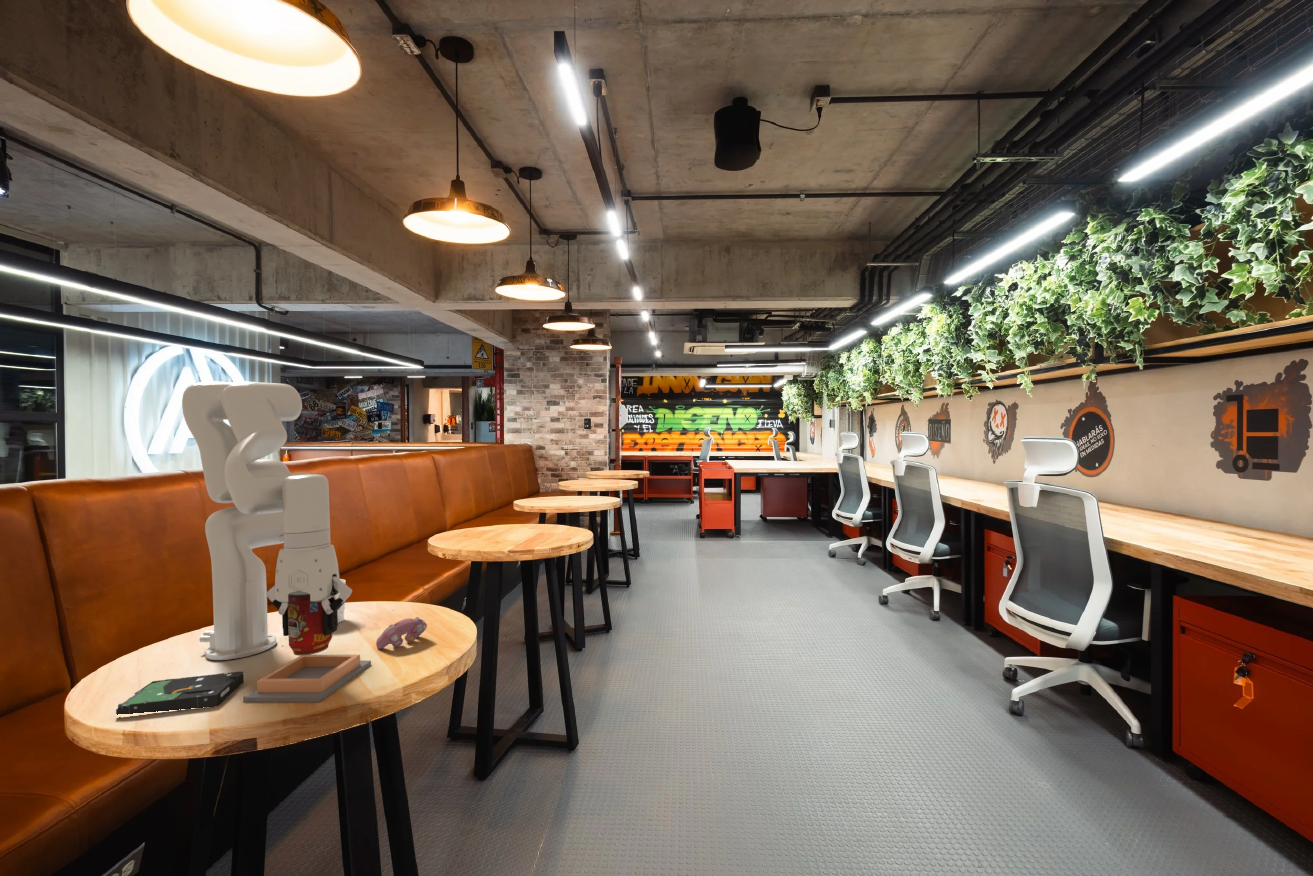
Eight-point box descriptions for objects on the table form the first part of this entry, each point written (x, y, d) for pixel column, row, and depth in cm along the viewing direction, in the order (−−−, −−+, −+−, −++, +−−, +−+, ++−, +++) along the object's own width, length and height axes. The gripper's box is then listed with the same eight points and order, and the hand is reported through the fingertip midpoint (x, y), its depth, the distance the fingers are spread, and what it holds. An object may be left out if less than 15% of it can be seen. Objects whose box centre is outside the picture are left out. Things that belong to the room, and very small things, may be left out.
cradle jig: (243, 701, 99) (242, 686, 99) (304, 664, 115) (304, 651, 115) (319, 702, 98) (319, 686, 98) (370, 664, 114) (370, 650, 114)
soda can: (279, 655, 104) (277, 589, 104) (311, 642, 111) (310, 580, 111) (310, 658, 102) (308, 591, 102) (341, 644, 109) (339, 581, 109)
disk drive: (244, 685, 108) (152, 695, 104) (244, 670, 108) (152, 679, 104) (217, 710, 98) (114, 722, 94) (217, 694, 98) (114, 705, 94)
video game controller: (382, 659, 121) (389, 633, 119) (372, 646, 123) (379, 620, 121) (425, 644, 129) (432, 620, 127) (415, 632, 131) (421, 608, 129)
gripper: (248, 544, 103) (251, 641, 103) (339, 542, 102) (342, 640, 102) (277, 537, 111) (280, 627, 111) (363, 535, 110) (366, 626, 110)
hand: (310, 632), depth 107 cm, fingers closed on soda can, 7 cm apart
